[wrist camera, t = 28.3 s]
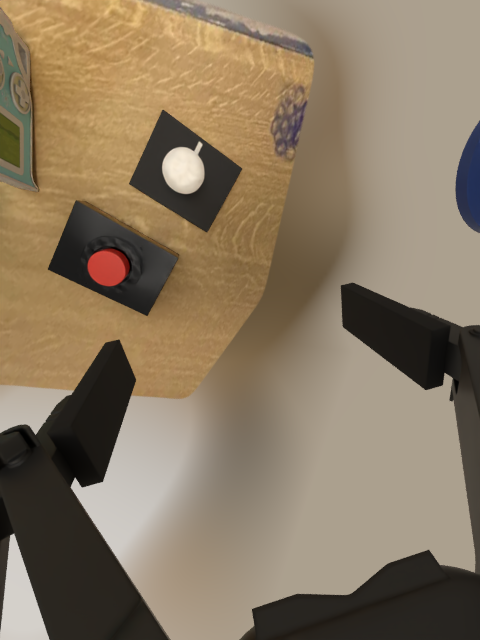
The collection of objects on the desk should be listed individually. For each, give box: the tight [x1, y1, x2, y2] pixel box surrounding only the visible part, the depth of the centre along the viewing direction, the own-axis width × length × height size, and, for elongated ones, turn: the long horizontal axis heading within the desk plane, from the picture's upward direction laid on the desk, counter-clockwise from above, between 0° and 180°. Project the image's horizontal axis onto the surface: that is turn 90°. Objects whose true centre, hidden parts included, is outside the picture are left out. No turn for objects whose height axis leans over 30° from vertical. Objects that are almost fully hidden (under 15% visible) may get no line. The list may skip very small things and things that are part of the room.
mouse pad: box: [129, 110, 242, 232], centre depth 37 cm, size 12×10×1 cm
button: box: [88, 248, 130, 286], centre depth 35 cm, size 4×4×2 cm
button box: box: [48, 200, 179, 316], centre depth 38 cm, size 14×10×5 cm
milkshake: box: [162, 141, 204, 194], centre depth 33 cm, size 4×5×10 cm
